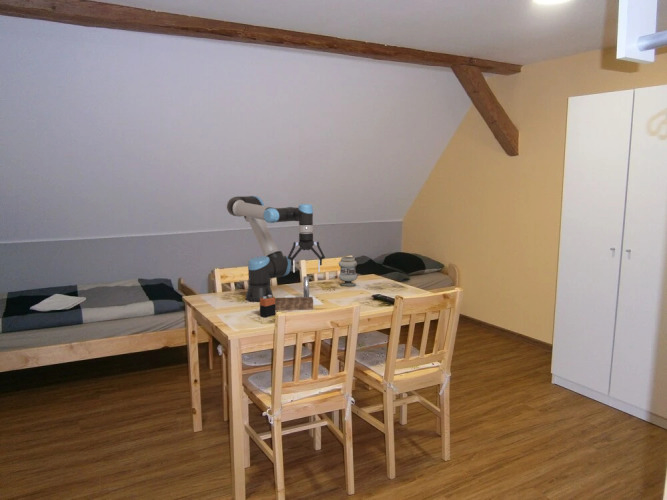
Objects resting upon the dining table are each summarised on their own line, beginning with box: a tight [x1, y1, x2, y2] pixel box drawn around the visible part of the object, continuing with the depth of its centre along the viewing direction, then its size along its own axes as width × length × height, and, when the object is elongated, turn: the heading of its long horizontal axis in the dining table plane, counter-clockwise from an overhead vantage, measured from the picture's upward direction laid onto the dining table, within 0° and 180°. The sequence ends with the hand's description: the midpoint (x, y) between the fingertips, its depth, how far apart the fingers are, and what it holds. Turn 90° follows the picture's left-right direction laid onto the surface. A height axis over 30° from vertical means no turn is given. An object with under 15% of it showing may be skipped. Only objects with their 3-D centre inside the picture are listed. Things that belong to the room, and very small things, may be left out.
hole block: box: [275, 296, 314, 311], centre depth 259 cm, size 24×9×4 cm, turn 95°
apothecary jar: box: [338, 256, 358, 288], centre depth 314 cm, size 12×12×18 cm
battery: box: [259, 295, 276, 319], centre depth 244 cm, size 4×7×10 cm, turn 140°
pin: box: [303, 276, 310, 297], centre depth 271 cm, size 3×3×14 cm
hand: (306, 271), depth 269 cm, fingers open, 13 cm apart
